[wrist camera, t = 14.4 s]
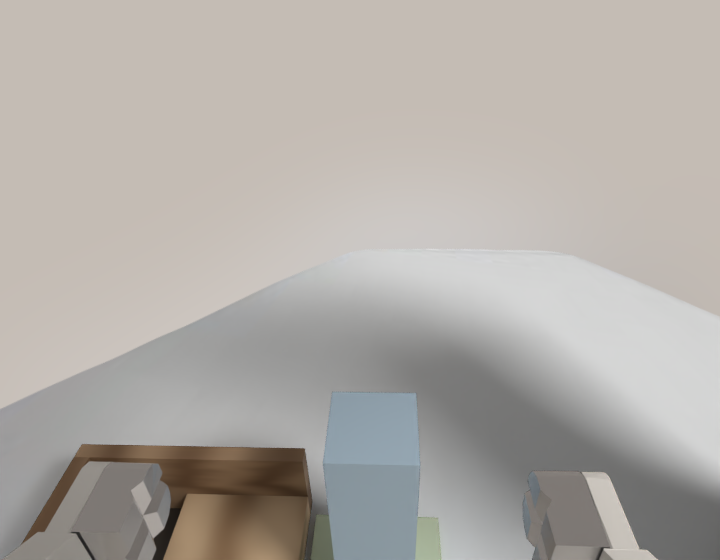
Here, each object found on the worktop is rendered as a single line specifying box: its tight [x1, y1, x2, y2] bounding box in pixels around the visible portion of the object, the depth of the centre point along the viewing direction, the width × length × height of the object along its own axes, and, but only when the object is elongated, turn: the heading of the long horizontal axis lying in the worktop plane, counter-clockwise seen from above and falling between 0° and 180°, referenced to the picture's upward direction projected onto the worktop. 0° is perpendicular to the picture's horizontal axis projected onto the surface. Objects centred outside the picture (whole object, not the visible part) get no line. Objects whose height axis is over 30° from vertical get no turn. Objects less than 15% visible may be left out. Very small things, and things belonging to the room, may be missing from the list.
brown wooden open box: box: [21, 444, 312, 560], centre depth 37 cm, size 18×13×7 cm
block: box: [323, 392, 420, 560], centre depth 33 cm, size 5×5×17 cm
